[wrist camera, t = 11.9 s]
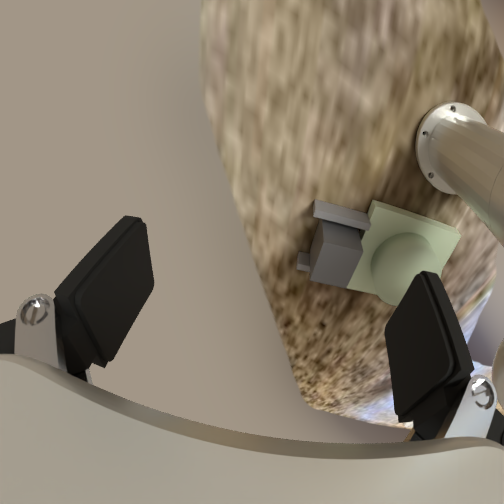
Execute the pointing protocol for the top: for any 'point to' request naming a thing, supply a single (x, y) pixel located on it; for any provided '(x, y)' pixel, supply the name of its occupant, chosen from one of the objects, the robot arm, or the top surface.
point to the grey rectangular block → (334, 253)
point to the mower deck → (396, 225)
